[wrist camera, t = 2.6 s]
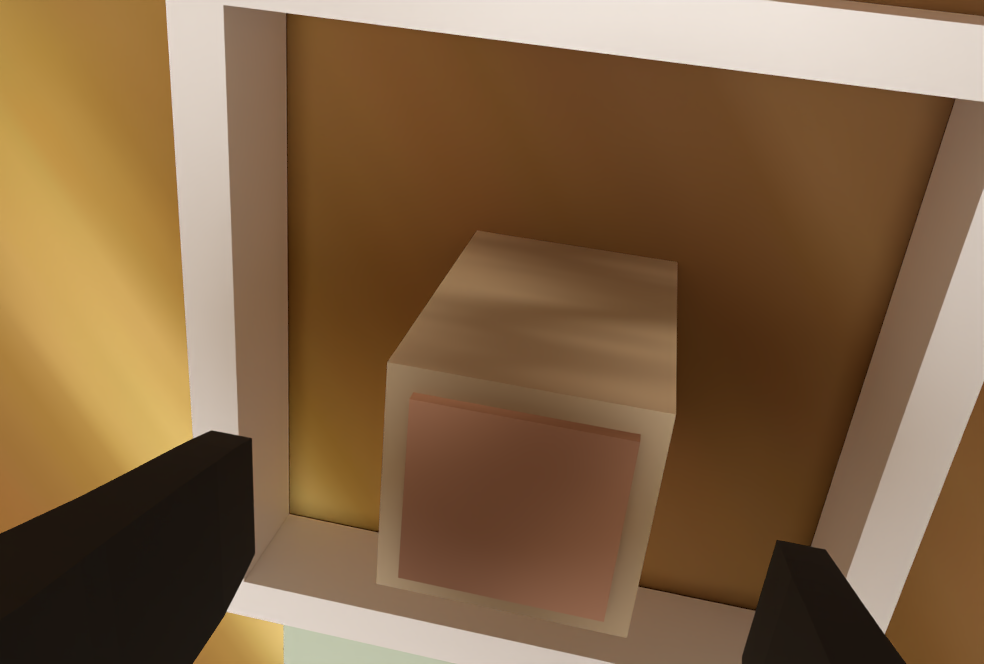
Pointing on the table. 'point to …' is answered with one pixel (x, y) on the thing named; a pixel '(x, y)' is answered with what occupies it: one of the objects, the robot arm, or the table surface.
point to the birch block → (531, 431)
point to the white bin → (611, 30)
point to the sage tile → (341, 650)
